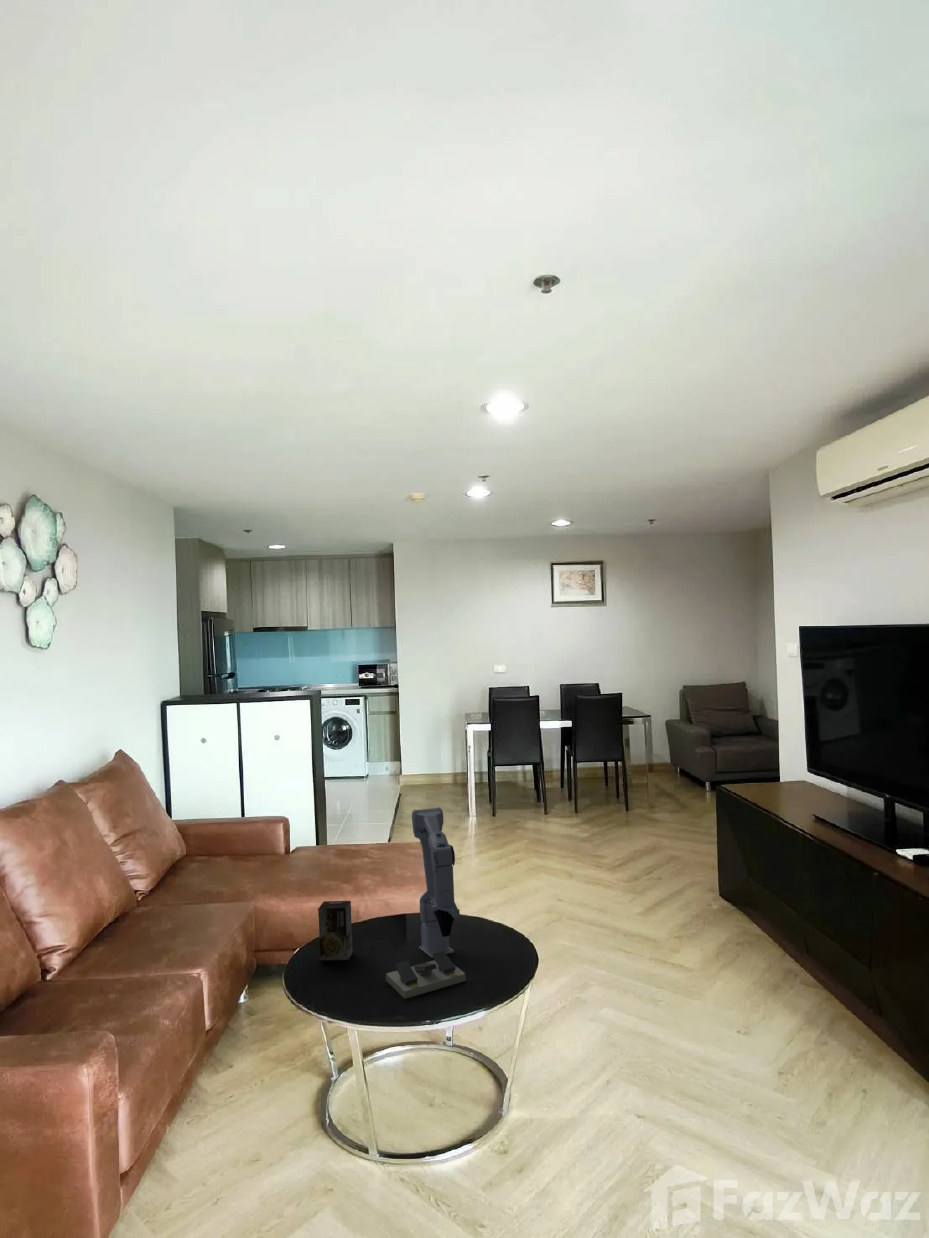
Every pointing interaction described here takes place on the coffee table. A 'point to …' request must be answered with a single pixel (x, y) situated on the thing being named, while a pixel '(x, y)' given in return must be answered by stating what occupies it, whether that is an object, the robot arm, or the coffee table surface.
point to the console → (425, 981)
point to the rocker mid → (425, 967)
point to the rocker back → (444, 962)
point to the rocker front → (406, 972)
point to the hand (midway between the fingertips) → (446, 935)
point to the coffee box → (335, 930)
